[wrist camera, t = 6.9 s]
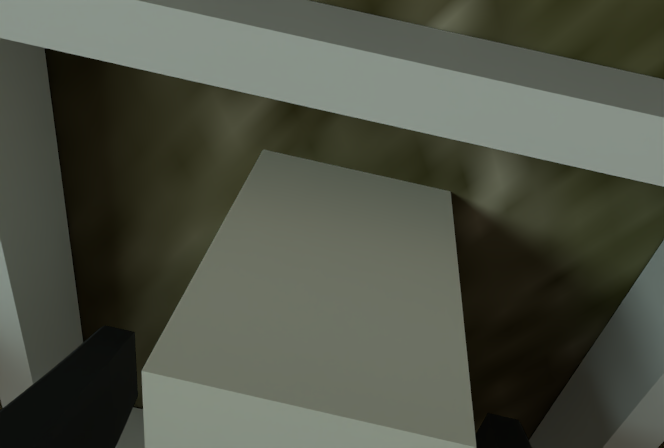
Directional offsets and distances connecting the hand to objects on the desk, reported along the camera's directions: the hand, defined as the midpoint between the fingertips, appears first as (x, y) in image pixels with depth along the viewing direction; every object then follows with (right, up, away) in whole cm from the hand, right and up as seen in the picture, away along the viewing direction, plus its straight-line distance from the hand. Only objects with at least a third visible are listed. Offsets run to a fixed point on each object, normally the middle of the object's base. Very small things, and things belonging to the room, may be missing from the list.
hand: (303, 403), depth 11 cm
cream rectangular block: (0, +2, +3) cm, 3 cm away
